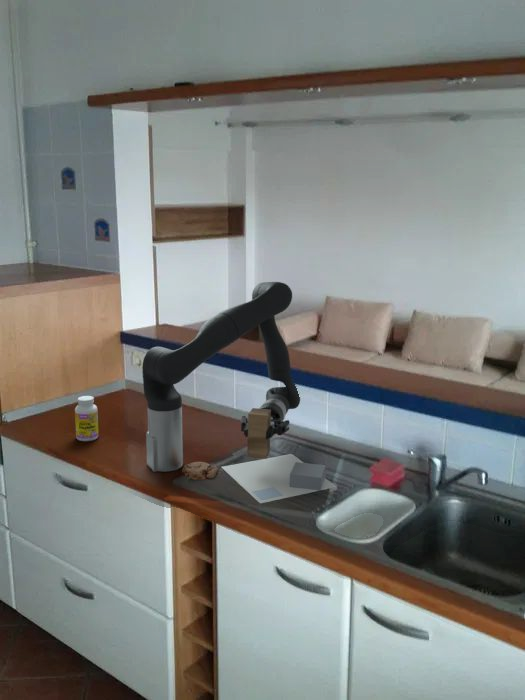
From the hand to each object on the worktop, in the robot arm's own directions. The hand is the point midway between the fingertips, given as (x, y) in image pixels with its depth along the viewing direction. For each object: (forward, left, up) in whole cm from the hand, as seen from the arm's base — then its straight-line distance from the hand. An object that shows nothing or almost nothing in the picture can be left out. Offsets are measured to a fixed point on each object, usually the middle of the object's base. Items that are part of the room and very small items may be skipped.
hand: (257, 434), depth 177 cm
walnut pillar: (+2, +2, -7) cm, 7 cm away
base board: (+4, -3, -12) cm, 13 cm away
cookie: (-13, +8, -13) cm, 20 cm away
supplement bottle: (-34, +48, -13) cm, 60 cm away
